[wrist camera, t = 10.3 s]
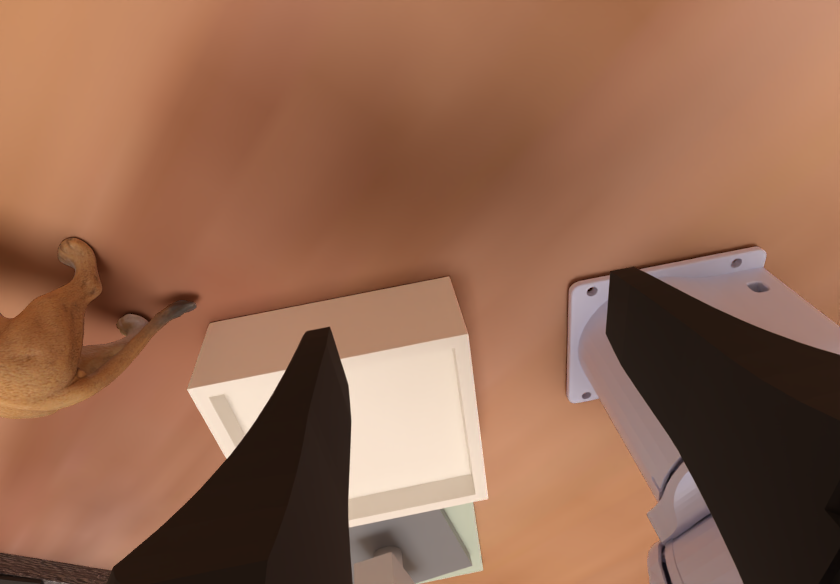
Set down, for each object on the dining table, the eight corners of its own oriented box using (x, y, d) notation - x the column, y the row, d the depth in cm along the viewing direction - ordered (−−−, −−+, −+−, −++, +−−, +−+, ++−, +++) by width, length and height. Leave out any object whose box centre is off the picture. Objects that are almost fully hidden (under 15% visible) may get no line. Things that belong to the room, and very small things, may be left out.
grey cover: (429, 483, 31) (440, 554, 28) (470, 554, 36) (484, 622, 33) (292, 528, 32) (286, 603, 28) (350, 592, 37) (352, 662, 33)
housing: (449, 276, 24) (468, 333, 20) (470, 434, 30) (488, 499, 26) (209, 323, 23) (187, 389, 20) (282, 472, 30) (274, 542, 26)
